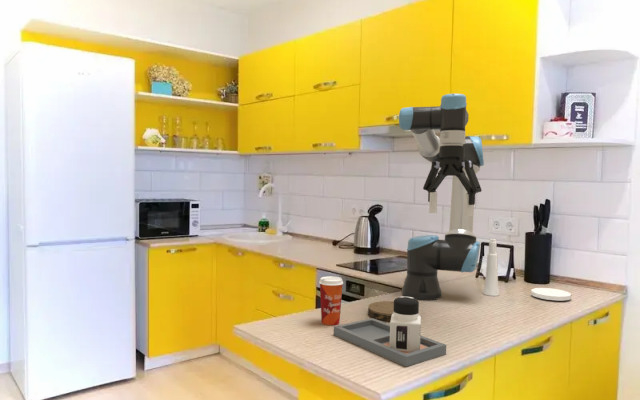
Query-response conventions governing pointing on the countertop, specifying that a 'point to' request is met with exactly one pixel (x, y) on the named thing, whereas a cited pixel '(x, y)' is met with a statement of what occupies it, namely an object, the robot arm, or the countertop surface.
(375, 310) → the brown disc
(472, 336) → the countertop surface
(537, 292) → the plastic lid
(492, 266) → the cosmetic bottle
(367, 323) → the two-bay tray
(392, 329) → the container
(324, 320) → the paper cup
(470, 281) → the countertop surface
